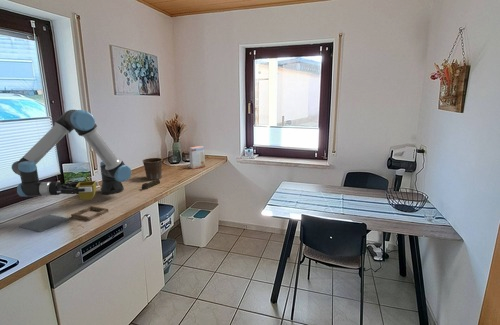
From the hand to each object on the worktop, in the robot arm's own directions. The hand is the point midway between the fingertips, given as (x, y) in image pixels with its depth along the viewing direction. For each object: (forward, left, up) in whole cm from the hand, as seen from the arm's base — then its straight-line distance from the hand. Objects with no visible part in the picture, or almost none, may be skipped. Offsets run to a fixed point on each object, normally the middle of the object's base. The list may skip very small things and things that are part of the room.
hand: (94, 186), depth 156 cm
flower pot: (+2, -4, -7) cm, 8 cm away
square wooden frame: (+2, -4, -17) cm, 18 cm away
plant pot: (-73, -18, -17) cm, 77 cm away
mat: (+19, -17, -17) cm, 31 cm away
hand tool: (-53, -5, -18) cm, 56 cm away
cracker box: (-119, -2, -17) cm, 120 cm away
